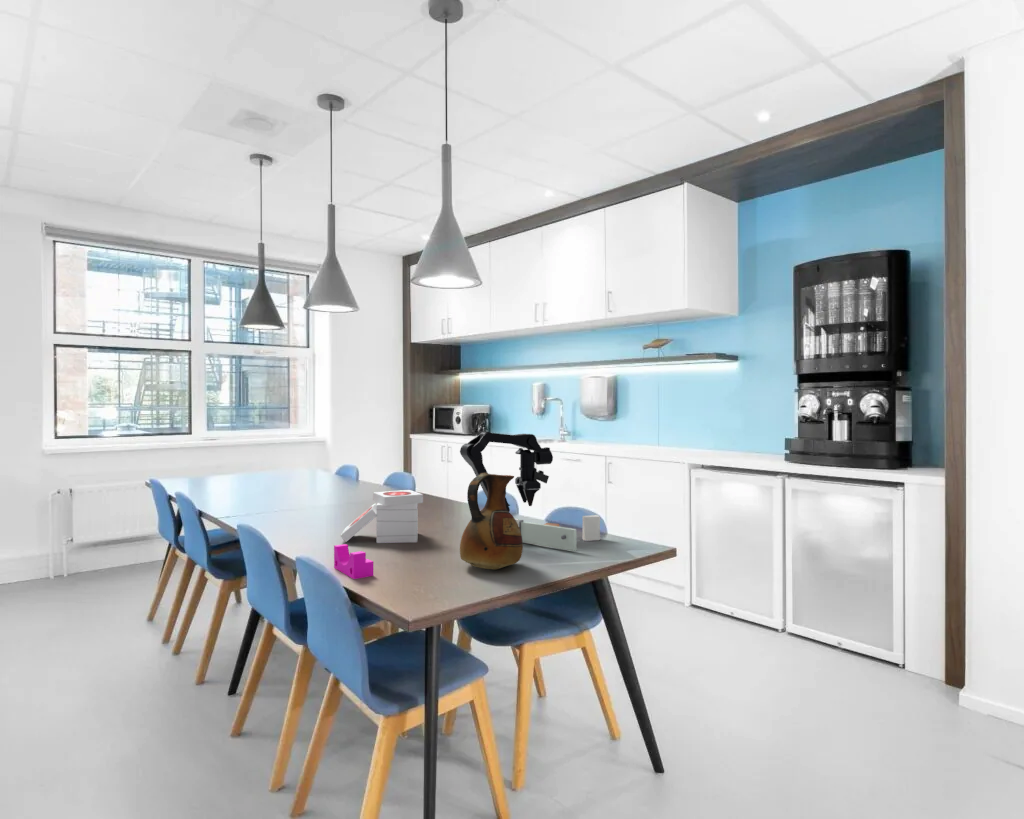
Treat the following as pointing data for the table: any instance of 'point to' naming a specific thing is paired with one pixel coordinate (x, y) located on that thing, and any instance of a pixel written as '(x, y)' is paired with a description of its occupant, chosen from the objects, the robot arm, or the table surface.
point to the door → (548, 535)
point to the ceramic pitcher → (491, 527)
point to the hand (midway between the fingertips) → (527, 504)
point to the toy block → (352, 562)
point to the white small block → (588, 527)
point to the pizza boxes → (390, 517)
